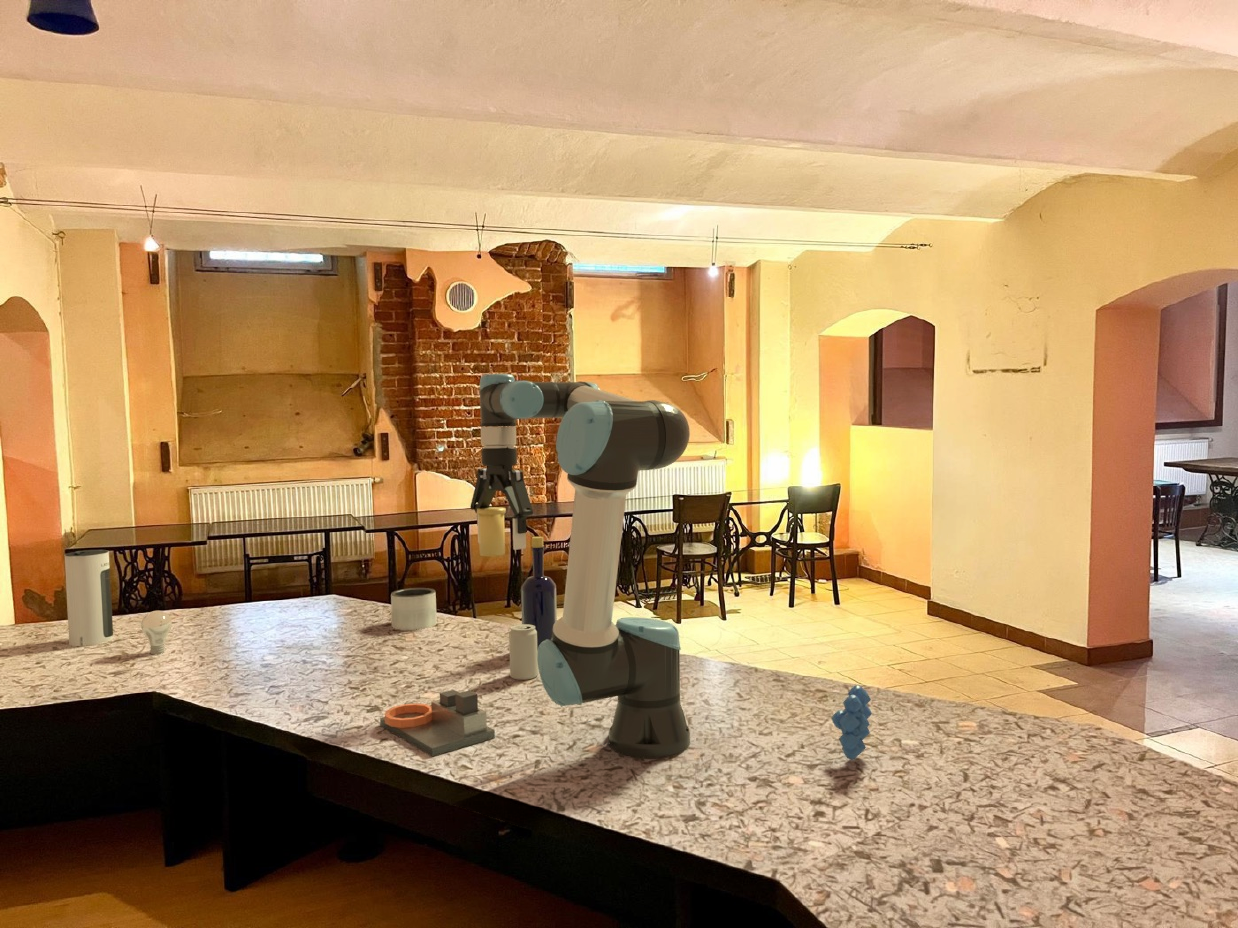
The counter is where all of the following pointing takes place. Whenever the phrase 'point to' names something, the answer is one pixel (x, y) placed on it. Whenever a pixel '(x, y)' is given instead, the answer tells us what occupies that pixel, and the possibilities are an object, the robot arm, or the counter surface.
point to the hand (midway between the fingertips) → (501, 545)
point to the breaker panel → (444, 729)
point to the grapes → (853, 722)
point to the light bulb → (156, 630)
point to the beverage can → (523, 652)
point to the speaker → (88, 597)
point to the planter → (413, 608)
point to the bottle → (539, 596)
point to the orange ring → (408, 721)
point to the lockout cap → (491, 531)
